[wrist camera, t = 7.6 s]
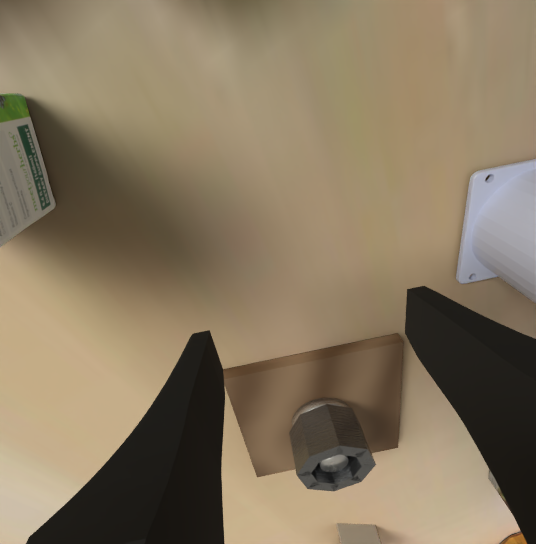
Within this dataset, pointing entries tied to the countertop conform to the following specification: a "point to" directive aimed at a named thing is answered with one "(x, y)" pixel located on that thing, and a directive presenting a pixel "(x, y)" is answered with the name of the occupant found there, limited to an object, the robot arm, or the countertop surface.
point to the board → (317, 396)
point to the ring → (330, 447)
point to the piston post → (335, 461)
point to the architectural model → (358, 534)
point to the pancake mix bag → (515, 539)
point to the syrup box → (20, 170)
